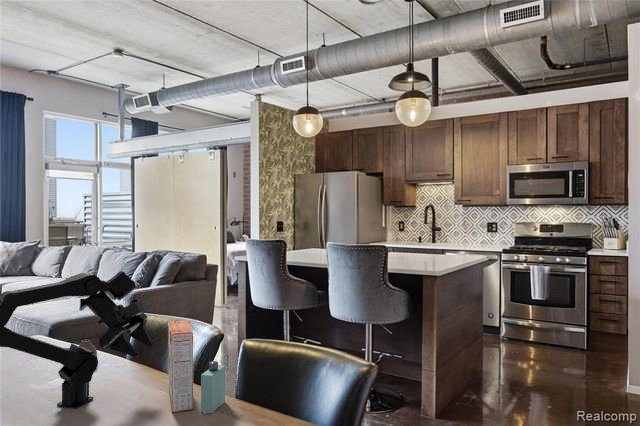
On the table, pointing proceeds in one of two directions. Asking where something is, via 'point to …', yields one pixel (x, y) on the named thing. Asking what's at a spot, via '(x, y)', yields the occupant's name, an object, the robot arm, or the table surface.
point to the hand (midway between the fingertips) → (144, 350)
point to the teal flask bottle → (212, 387)
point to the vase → (88, 346)
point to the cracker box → (180, 365)
